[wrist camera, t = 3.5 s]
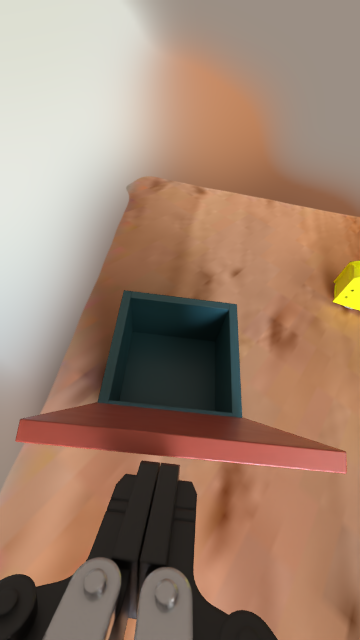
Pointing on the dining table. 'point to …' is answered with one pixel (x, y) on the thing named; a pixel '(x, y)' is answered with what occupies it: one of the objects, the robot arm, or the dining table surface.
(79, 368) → the dining table surface
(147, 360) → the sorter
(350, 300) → the yellow toy chassis
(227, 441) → the sorter lid
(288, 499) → the dining table surface
